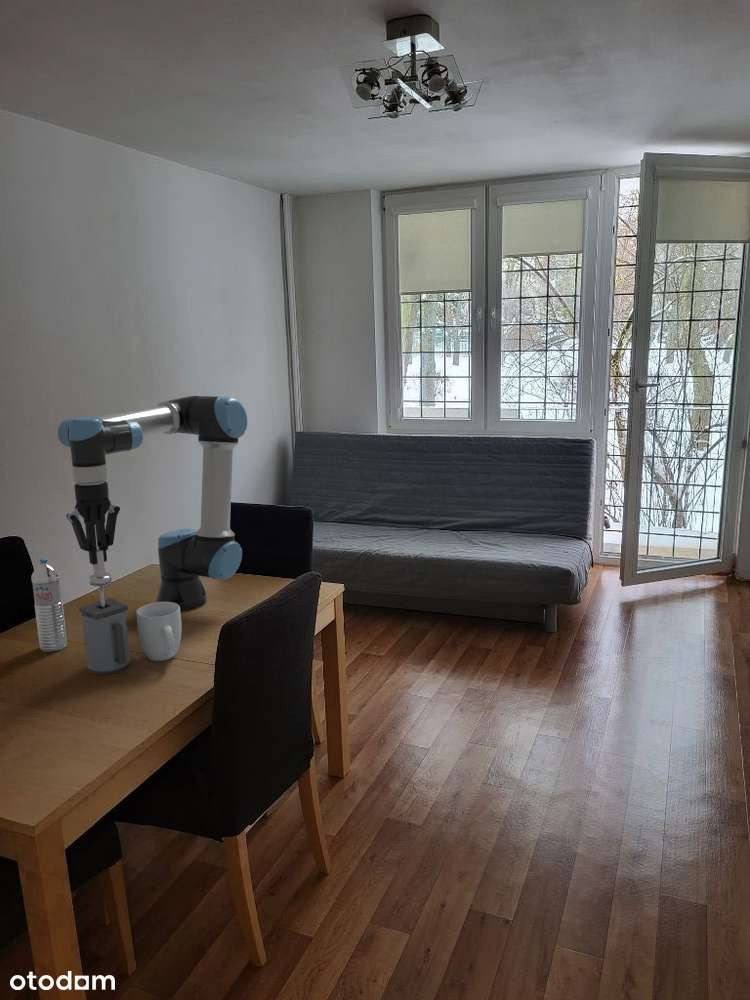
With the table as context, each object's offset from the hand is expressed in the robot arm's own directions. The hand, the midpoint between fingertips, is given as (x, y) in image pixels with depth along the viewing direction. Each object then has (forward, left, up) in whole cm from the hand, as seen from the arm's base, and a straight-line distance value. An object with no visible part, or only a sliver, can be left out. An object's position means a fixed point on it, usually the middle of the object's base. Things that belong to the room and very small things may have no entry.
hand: (99, 575), depth 182 cm
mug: (-12, +6, -25) cm, 28 cm away
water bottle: (+4, -22, -25) cm, 33 cm away
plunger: (0, 0, -16) cm, 16 cm away
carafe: (0, +1, -24) cm, 24 cm away
